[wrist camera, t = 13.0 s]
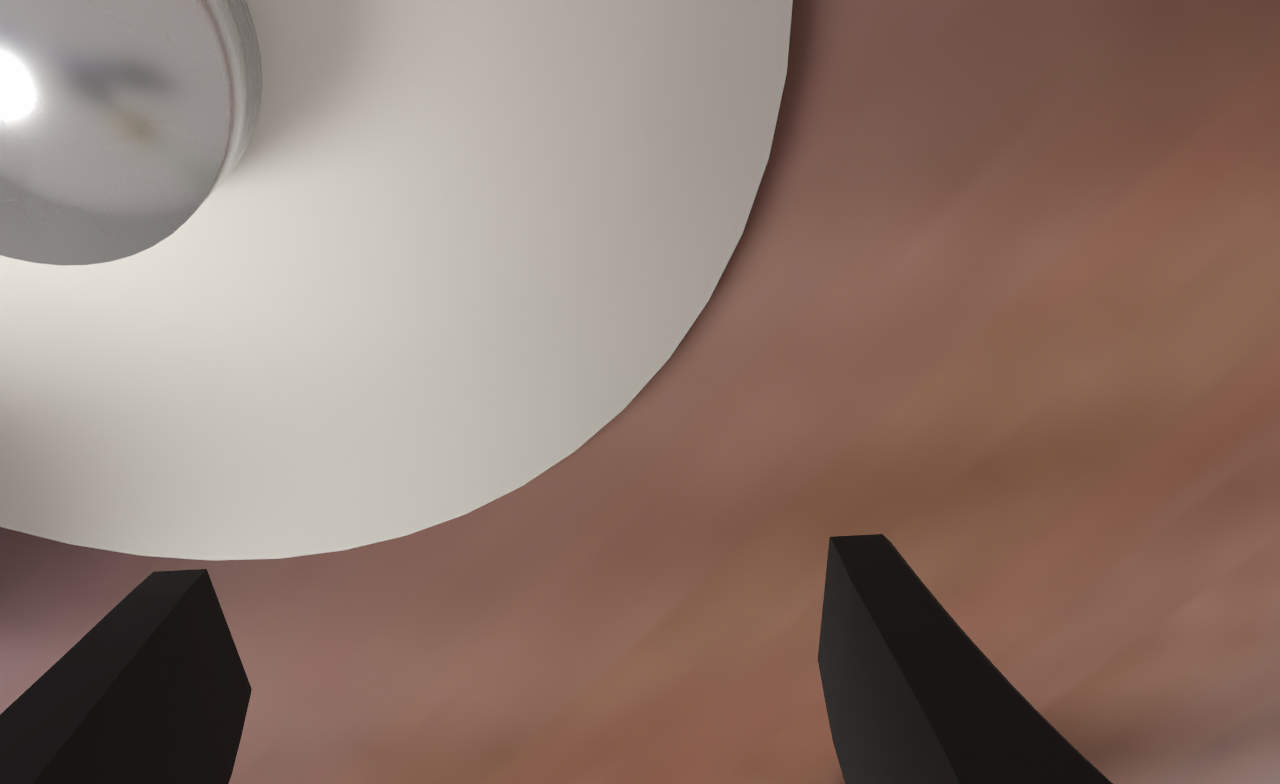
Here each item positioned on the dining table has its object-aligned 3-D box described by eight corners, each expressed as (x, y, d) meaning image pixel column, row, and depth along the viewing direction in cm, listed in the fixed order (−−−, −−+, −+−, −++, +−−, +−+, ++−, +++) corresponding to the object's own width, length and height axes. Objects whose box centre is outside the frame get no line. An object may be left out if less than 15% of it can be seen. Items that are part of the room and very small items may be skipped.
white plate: (-1393, -822, 12) (-1549, -868, 11) (646, -1497, 10) (652, -1617, 9) (-114, 619, 25) (-138, 649, 24) (843, 447, 23) (852, 472, 22)
